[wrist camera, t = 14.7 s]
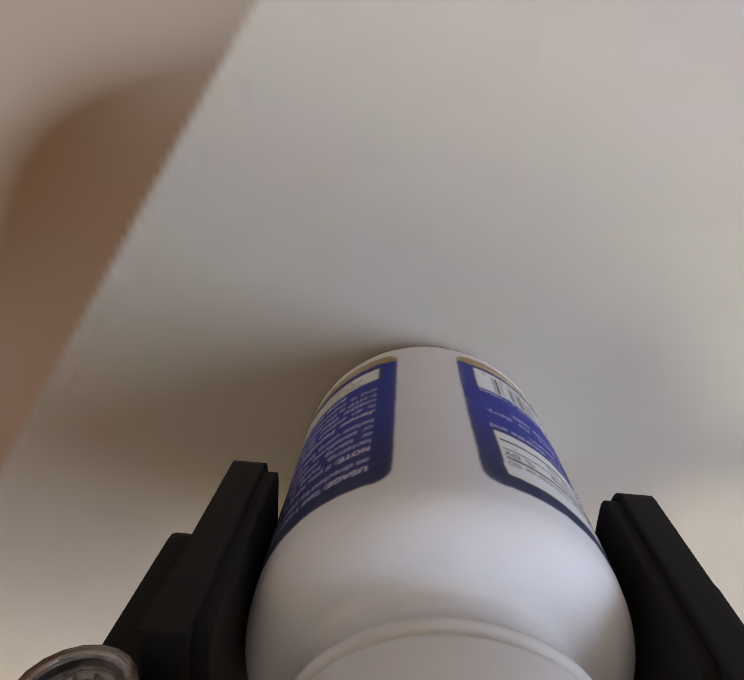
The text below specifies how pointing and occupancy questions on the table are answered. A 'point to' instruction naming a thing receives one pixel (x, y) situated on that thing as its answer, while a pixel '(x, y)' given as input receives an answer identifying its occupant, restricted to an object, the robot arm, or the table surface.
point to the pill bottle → (434, 540)
